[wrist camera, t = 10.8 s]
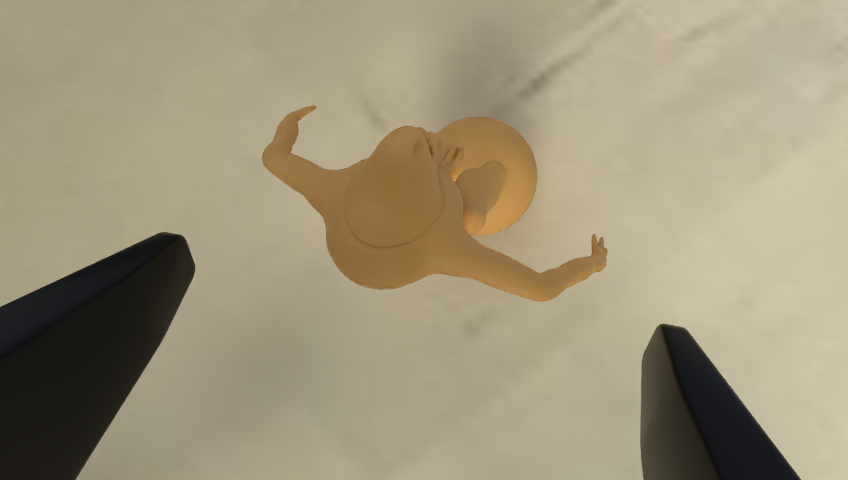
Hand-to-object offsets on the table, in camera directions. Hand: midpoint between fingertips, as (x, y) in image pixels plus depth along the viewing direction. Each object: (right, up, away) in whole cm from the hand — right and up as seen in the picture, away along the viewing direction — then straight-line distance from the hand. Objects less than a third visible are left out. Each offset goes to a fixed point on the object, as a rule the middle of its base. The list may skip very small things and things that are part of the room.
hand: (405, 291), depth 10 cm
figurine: (+2, +2, +10) cm, 10 cm away
